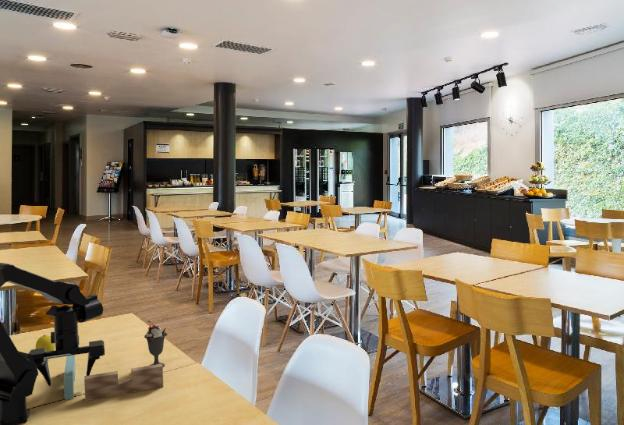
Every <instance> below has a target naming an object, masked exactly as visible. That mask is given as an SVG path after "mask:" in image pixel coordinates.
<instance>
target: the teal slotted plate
mask: <svg viewBox="0 0 624 425" xmlns="http://www.w3.org/2000/svg"><path fill="white" fill-rule="evenodd" d="M65 358H66V359H65V365H64V374H63V390H64V391H63V392H64V393H63V394H64V400H65V401H66V400H71V399H74V393H75V380H76V355H71V356H65Z"/></svg>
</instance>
